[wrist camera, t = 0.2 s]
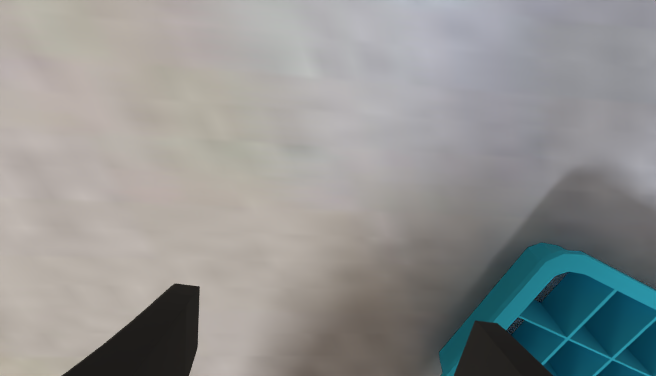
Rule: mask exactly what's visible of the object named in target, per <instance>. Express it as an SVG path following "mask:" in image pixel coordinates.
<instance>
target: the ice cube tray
mask: <svg viewBox="0 0 656 376" xmlns="http://www.w3.org/2000/svg"><path fill="white" fill-rule="evenodd" d="M566 272H569V273H568V274H567V275H566V276H565V277H564V278H563V279H562V280H561V281H560V282H559V284H558V285H557V286H556V287H555V288H554V289H553V290H552V291H551V292H550V293H549V294H548V296H547V297H546V298H545V299H544V300H543V301H542V302H541V303H540V302H538V301H536V300H534V299H535V298H536V296H537V295H538V294H539V293H540V292H541V291H542V290H543V289H544V288H545V286H546V285H547V284H548V283H549V282H550V281H551V280H552V279H553V278H554V277H555V276H557V275H560V274H563V273H566ZM518 317H519V318H521V319H523V320H525V321H524V322H523V323H522V324H521V325H520V326H519V327H518V328H517V329H516V330H515V331H514V333H513V334H512V335H511V336H512V337H513V338H515V339H516V340H517V341H518V342H519V343H520V344H521V345H522V346H523V347H524V348H525V349H526V350H527V351H528V352H529V353H530V354H531V355H532V356H533V357H534V358H536V359H537V360H538V361H539V362H540V363H541V364H542V365H543V366H544V367H545V368H546V369H547V370H548V371H549V372H550V373H551V374H552V375H553V376H656V290H655V289H653V288H651V287H649V286H647V285H645V284H643V283H642V282H640V281H638V280H636V279H634V278H632V277H630V276H628V275H626V274H624V273H622V272H620V271H618V270H616V269H614V268H612V267H611V266H609V265H607V264H605V263H603V262H601V261H599V260H597V259H595V258H593V257H591V256H589V255H587V254H585V253H583V252H581V251H570V250H566V249H564V248H562V247H560V246H558V245H552V244H547V243H539V244H536V245H533V246H530V247H528V248H527V249H526V250H525V251H524V252H523V253H522V255H521V256H520V257H519V258H518V259H517V261H516V262H515V263H514V264H513V265H512V266H511V268H510V269H509V270H508V271H507V272H506V274H505V275H504V276H503V277H502V278H501V280H500V281H499V282H498V283H497V284H496V285H495V287H494V288H493V289H492V290H491V291H490V293H489V294H488V295H487V296H486V297H485V299H484V300H483V301H482V302H481V303H480V304H479V306H478V307H477V308H476V309H475V310H474V312H473V313H472V314H471V315H470V316H469V318H468V319H467V320H466V321H465V322H464V323H463V325H462V326H461V327H460V328H459V329H458V331H457V332H456V333H455V334H454V335H453V336H452V338H451V339H450V340H449V341H448V342H447V344H446V345H445V346H444V347H443V348H442V350H441V351H440V352H439V356H440V363H441V367H442V372H443V373H442V374H441V376H454V373H455V371H456V368H457V366H458V363H459V360H460V358H461V355H462V353H463V350H464V347H465V345H466V342H467V340H468V337H469V335H470V332H471V329H472V327H473V324H474V322H475V320H476V321H484V322H493V323H498V324H499V325H500V326H501V327H502V328H504V329H505V330H507V329H508V327H509V326H510V325H511V324H512V323H513V322H514V321H515V320H516V319H517V318H518Z"/></svg>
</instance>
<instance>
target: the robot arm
mask: <svg viewBox="0 0 656 376" xmlns="http://www.w3.org/2000/svg"><path fill="white" fill-rule="evenodd" d="M199 289H200V287H199V286H191V285H183V284H174V285H172V286H171V287H170V288H169V289H168V290H166V291H165V292H164V293H163V294H162V295H161V296H160V297H159V298H157V299H156V300H155V301H154V302H153V303H152V304H151V305H150V306H148V307H147V308H146V309H145V310H144V311H143V312H142V313H140V314H139V315H138V316H137V317H136V318H135V319H134V320H132V321H131V322H130V323H129V324H128V325H126V326H125V327H124V328H123V329H121V330H120V331H119V332H118V333H117V334H115V335H114V336H113V337H112V338H111V339H109V340H108V341H107V342H106V343H104V344H103V345H102V346H101V347H99V348H98V349H97V350H95V351H94V352H93V353H91V354H90V355H89V356H87V357H86V358H85V359H84V360H82V361H81V362H80V363H78V364H77V365H76V366H74V367H73V368H72V369H70V370H69V371H68V372H66V373H65V374H63V375H62V376H189V373H190V370H191V367H192V364H193V361H194V357H195V354H196V351H197V345H198V317H199ZM454 376H553V375H552V374H551V373H550V372H549V371H548V370H547V369H546V368H545V367H544V366H543V365H542V364H541V363H540V362H539V361H538V360H537V359H536V358H534V357H533V356H532V355H531V354H530V353H529V352H528V351H527V350H526V349H525V348H524V347H523V346H522V345H521V344H520V343H519V342H518V341H517V340H516V339H515V338H513V337H512V336H511V335H510V334H509V333H508V332H507V331H506V330H505V329H504V328H502V327H501V326H500V325H499V324H498V323H493V322H484V321H476V320H475V322H474V324H473V327H472V329H471V332H470V335H469V337H468V340H467V342H466V345H465V347H464V350H463V353H462V355H461V358H460V360H459V363H458V366H457V368H456V371H455V373H454Z"/></svg>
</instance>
